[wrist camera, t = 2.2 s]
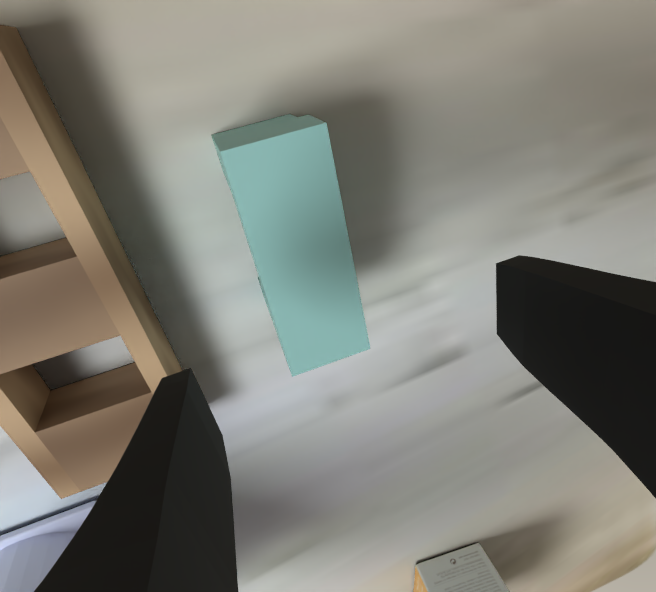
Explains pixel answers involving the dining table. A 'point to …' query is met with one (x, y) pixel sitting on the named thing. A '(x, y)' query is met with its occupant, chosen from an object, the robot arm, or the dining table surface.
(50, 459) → the rail
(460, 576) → the small box
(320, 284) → the teal block
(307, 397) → the dining table surface
